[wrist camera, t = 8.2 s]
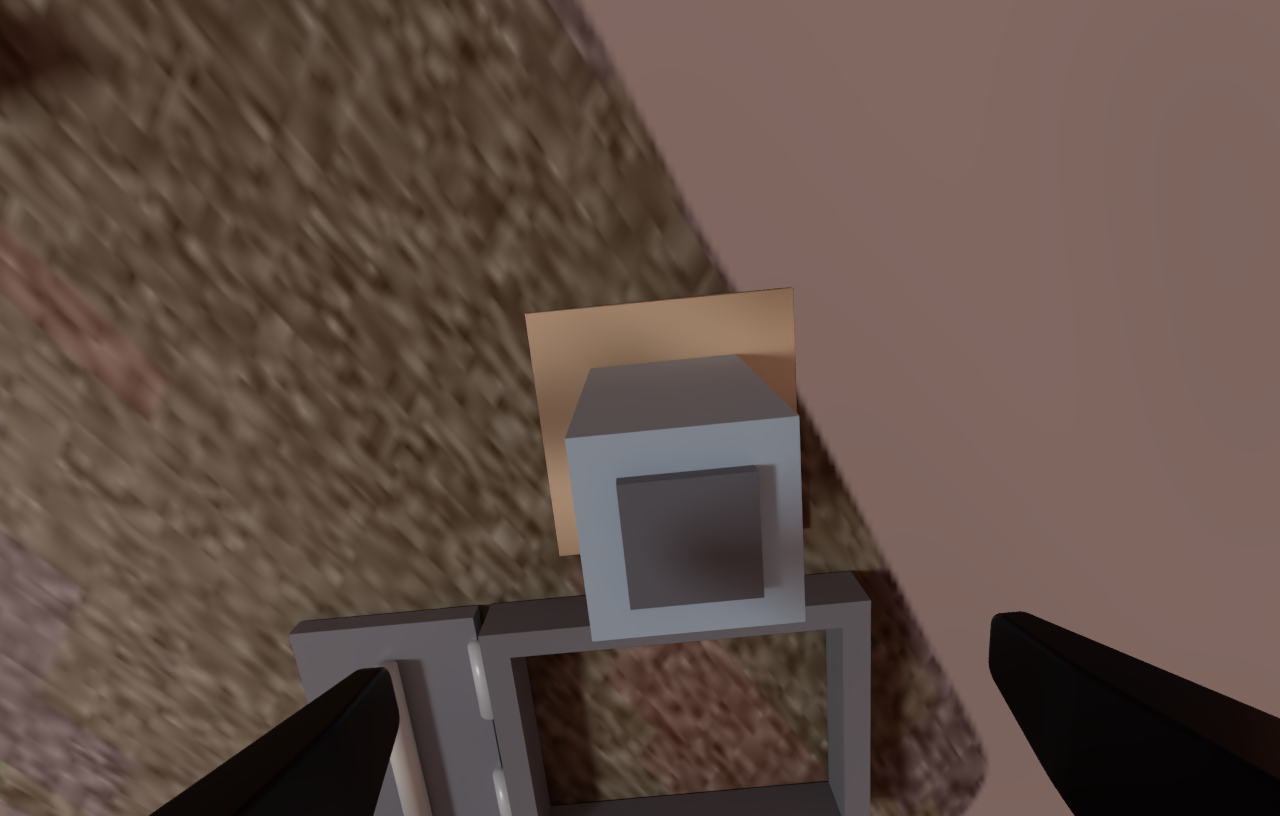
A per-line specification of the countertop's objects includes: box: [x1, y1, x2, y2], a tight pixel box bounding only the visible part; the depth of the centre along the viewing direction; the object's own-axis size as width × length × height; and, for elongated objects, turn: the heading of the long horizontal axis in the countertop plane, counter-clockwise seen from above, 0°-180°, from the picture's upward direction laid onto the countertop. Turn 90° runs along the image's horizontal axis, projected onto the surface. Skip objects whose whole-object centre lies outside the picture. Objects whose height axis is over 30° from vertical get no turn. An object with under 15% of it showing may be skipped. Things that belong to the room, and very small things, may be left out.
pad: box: [525, 287, 797, 556], centre depth 21 cm, size 9×9×1 cm
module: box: [565, 354, 806, 642], centre depth 17 cm, size 5×5×8 cm
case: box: [289, 571, 871, 816], centre depth 23 cm, size 11×22×2 cm, turn 95°
